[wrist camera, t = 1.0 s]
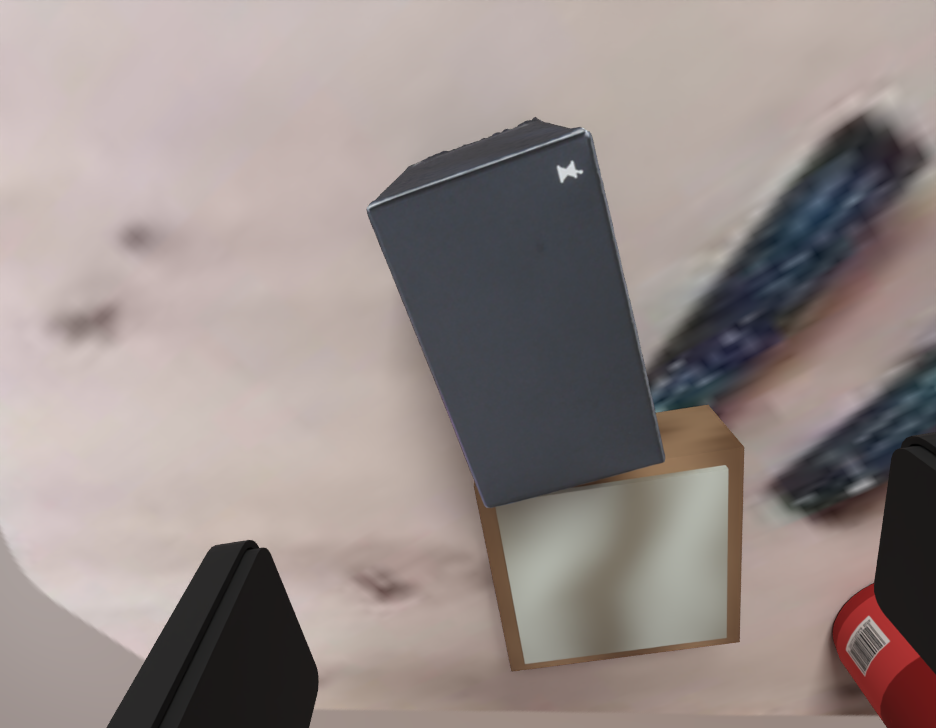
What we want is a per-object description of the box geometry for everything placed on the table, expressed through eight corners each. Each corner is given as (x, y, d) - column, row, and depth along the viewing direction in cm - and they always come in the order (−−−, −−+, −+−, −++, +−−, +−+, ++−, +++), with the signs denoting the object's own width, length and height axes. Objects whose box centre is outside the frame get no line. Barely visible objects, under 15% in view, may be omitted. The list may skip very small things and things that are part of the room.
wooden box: (707, 404, 29) (747, 450, 25) (708, 584, 33) (742, 646, 29) (472, 441, 29) (474, 491, 25) (506, 611, 34) (512, 676, 30)
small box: (394, 168, 24) (348, 201, 14) (542, 113, 23) (599, 111, 14) (473, 381, 28) (479, 520, 18) (602, 341, 27) (678, 464, 18)
